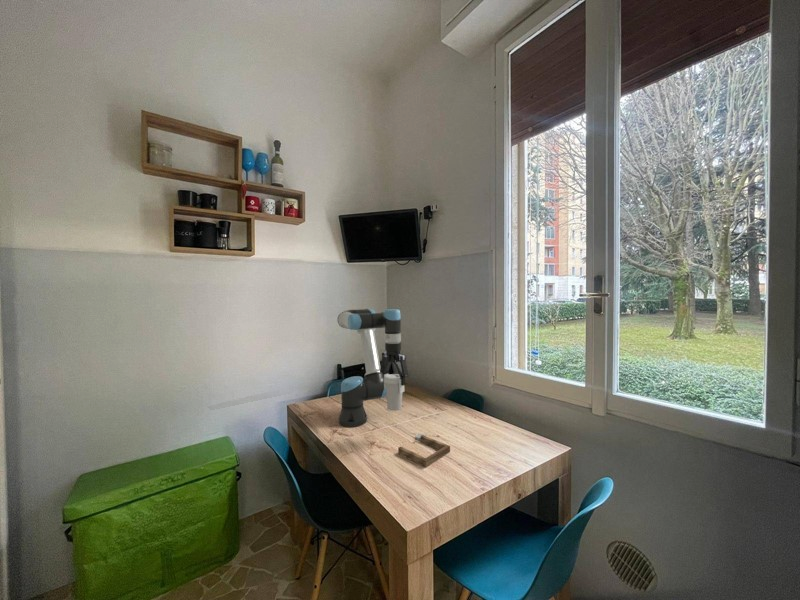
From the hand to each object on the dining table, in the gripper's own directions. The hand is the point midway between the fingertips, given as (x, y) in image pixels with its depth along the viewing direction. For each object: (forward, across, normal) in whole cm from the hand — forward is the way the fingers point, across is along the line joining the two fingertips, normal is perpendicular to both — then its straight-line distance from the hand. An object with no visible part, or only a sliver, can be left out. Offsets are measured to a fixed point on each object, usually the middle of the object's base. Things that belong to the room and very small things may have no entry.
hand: (394, 389), depth 143 cm
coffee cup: (+9, 0, 0) cm, 9 cm away
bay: (+23, +17, 0) cm, 29 cm away
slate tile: (+23, +8, +9) cm, 26 cm away
